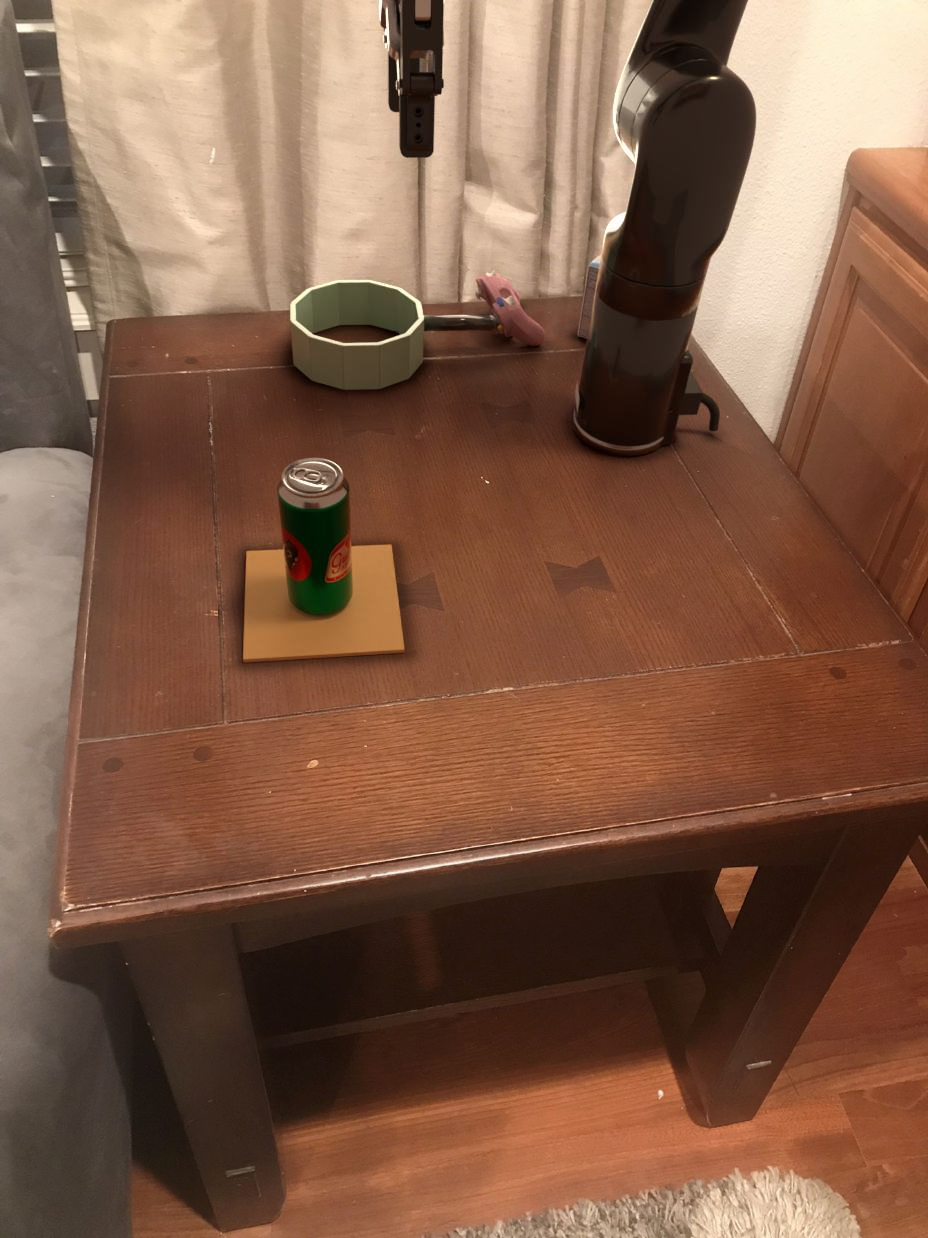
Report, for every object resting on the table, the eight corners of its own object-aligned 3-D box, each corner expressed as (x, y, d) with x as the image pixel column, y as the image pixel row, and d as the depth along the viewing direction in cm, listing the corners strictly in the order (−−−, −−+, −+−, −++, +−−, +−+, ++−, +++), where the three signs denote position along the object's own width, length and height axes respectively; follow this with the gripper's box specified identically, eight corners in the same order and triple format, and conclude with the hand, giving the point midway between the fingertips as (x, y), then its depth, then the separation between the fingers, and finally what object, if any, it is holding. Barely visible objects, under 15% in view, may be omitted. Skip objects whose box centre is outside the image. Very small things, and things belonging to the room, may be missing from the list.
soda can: (342, 625, 73) (336, 504, 65) (279, 613, 74) (265, 491, 65) (360, 581, 77) (357, 460, 68) (300, 570, 77) (289, 448, 69)
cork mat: (391, 547, 80) (391, 544, 80) (404, 652, 72) (404, 649, 72) (246, 554, 79) (246, 550, 79) (243, 662, 71) (242, 659, 70)
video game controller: (485, 319, 111) (463, 270, 106) (519, 299, 111) (499, 249, 106) (513, 363, 105) (491, 314, 100) (550, 343, 104) (529, 292, 99)
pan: (485, 320, 108) (488, 278, 105) (504, 386, 99) (509, 342, 95) (292, 322, 105) (289, 280, 102) (294, 391, 96) (290, 346, 92)
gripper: (496, -146, 50) (478, 172, 62) (459, -185, 60) (449, 96, 71) (353, -151, 49) (362, 173, 61) (338, -190, 59) (349, 96, 70)
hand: (409, 131), depth 66 cm, fingers open, 8 cm apart
